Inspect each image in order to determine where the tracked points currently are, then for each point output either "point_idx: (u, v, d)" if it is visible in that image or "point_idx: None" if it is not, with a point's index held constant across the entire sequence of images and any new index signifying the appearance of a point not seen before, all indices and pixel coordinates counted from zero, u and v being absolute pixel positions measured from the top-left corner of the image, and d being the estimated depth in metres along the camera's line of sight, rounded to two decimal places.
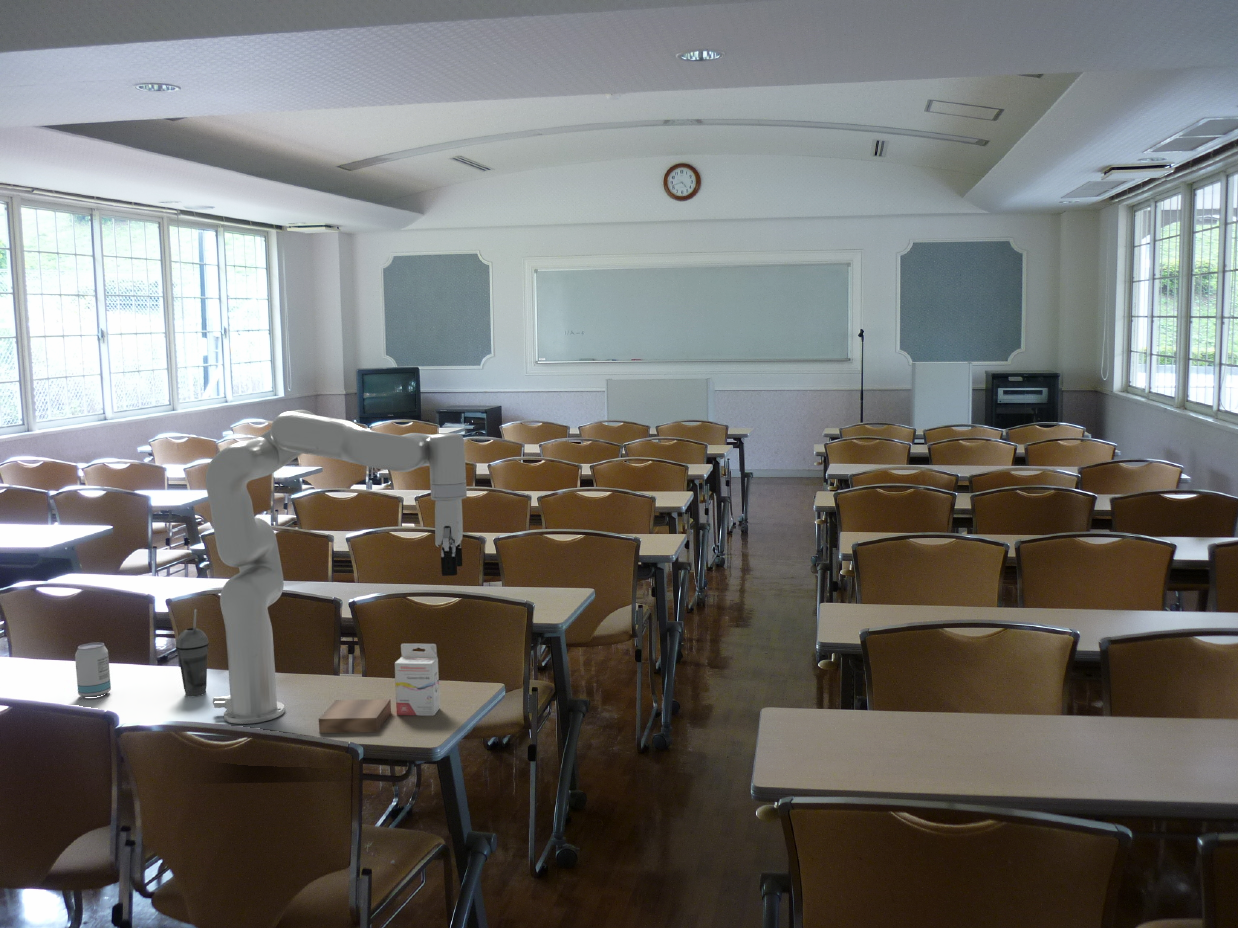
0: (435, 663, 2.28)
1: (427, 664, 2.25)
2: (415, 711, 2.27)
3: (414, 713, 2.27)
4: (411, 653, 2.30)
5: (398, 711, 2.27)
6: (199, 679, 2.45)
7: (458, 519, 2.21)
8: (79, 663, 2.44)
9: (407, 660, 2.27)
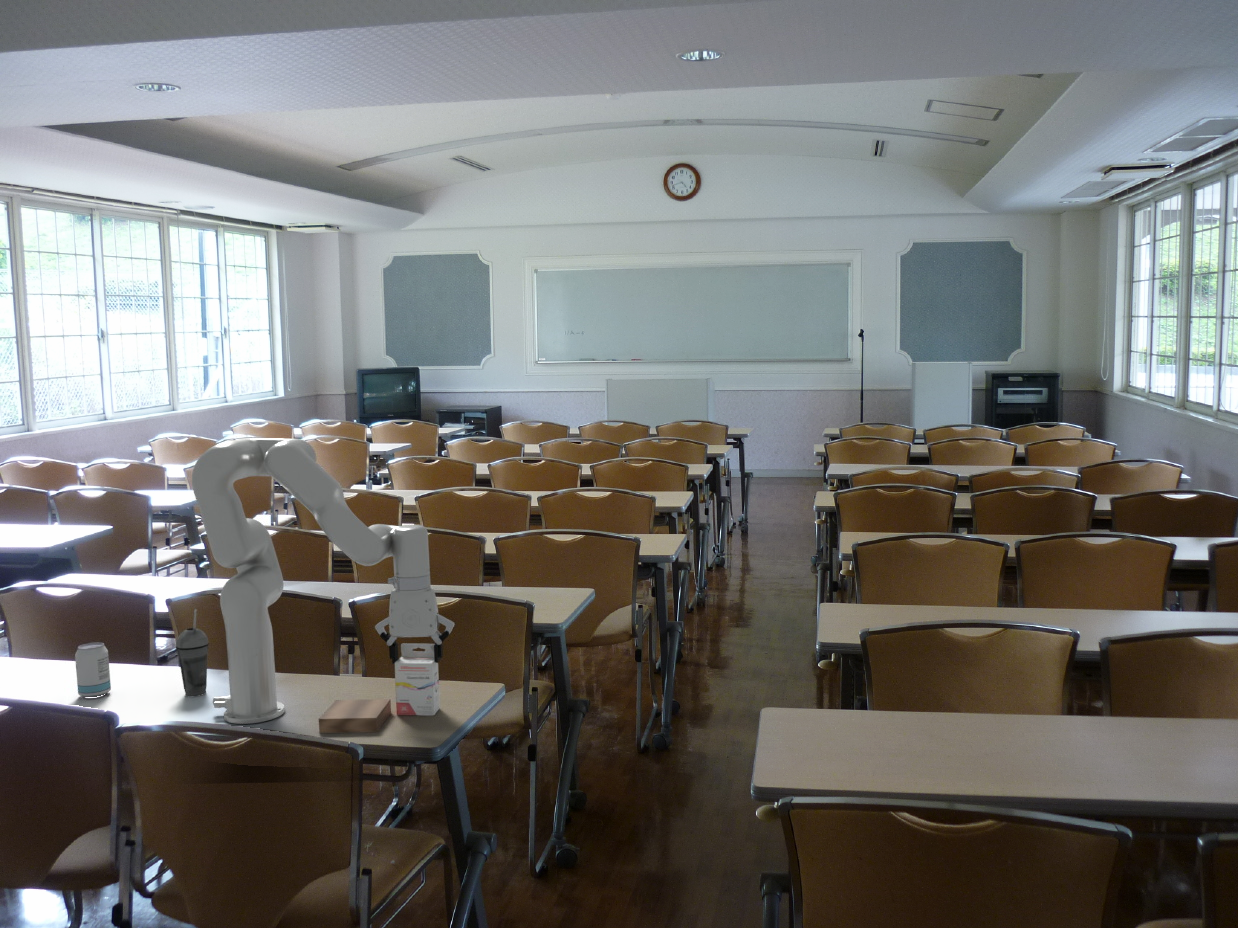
0: (435, 663, 2.28)
1: (427, 663, 2.25)
2: (415, 711, 2.27)
3: (414, 712, 2.27)
4: (411, 652, 2.30)
5: (398, 711, 2.27)
6: (199, 679, 2.45)
7: None
8: (79, 663, 2.44)
9: (407, 660, 2.27)
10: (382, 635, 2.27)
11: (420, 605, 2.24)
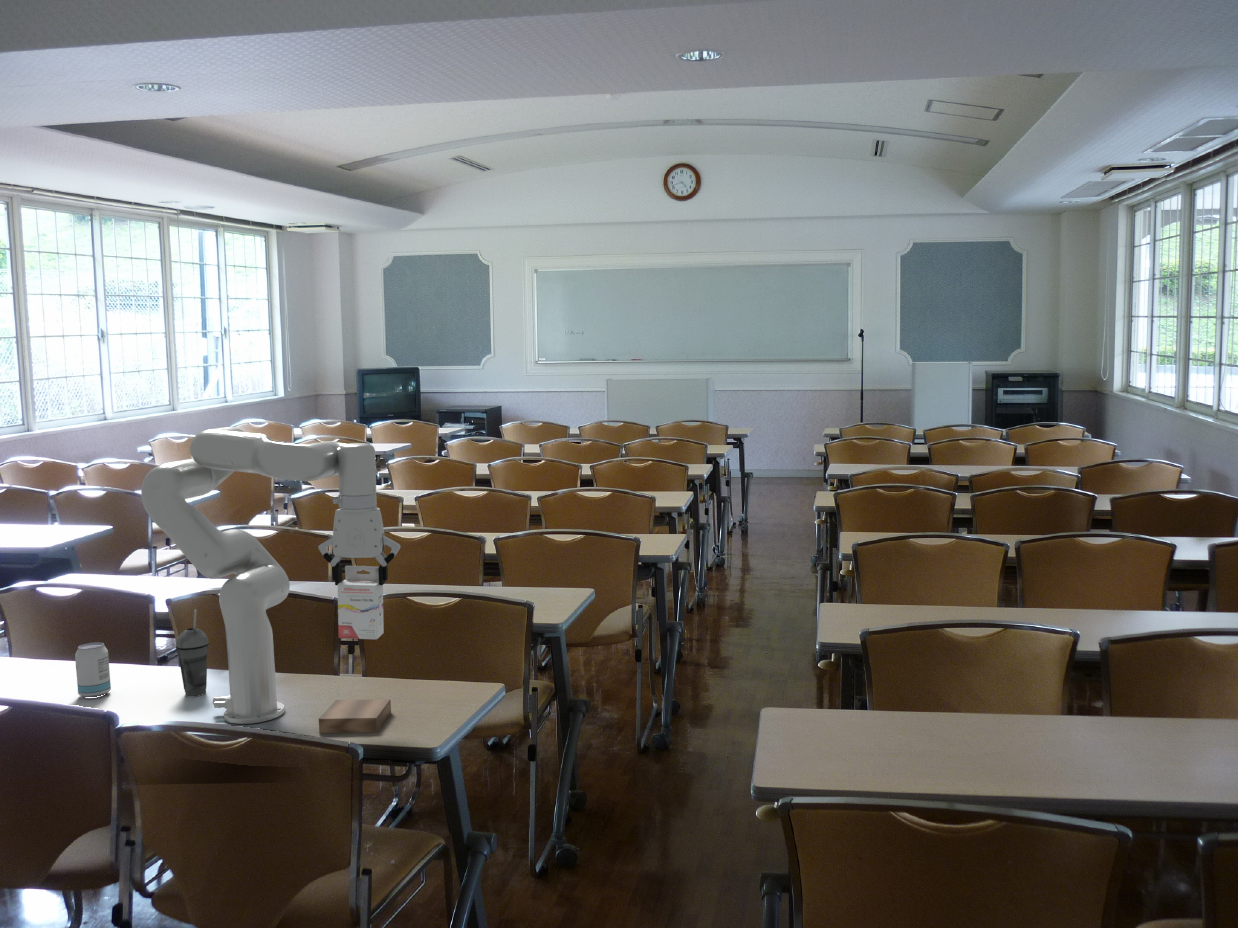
0: (380, 586, 2.22)
1: (371, 585, 2.19)
2: (358, 634, 2.21)
3: (357, 636, 2.21)
4: (356, 575, 2.24)
5: (340, 634, 2.21)
6: (199, 679, 2.45)
7: None
8: (79, 663, 2.44)
9: (351, 582, 2.21)
10: (325, 556, 2.21)
11: (365, 525, 2.18)
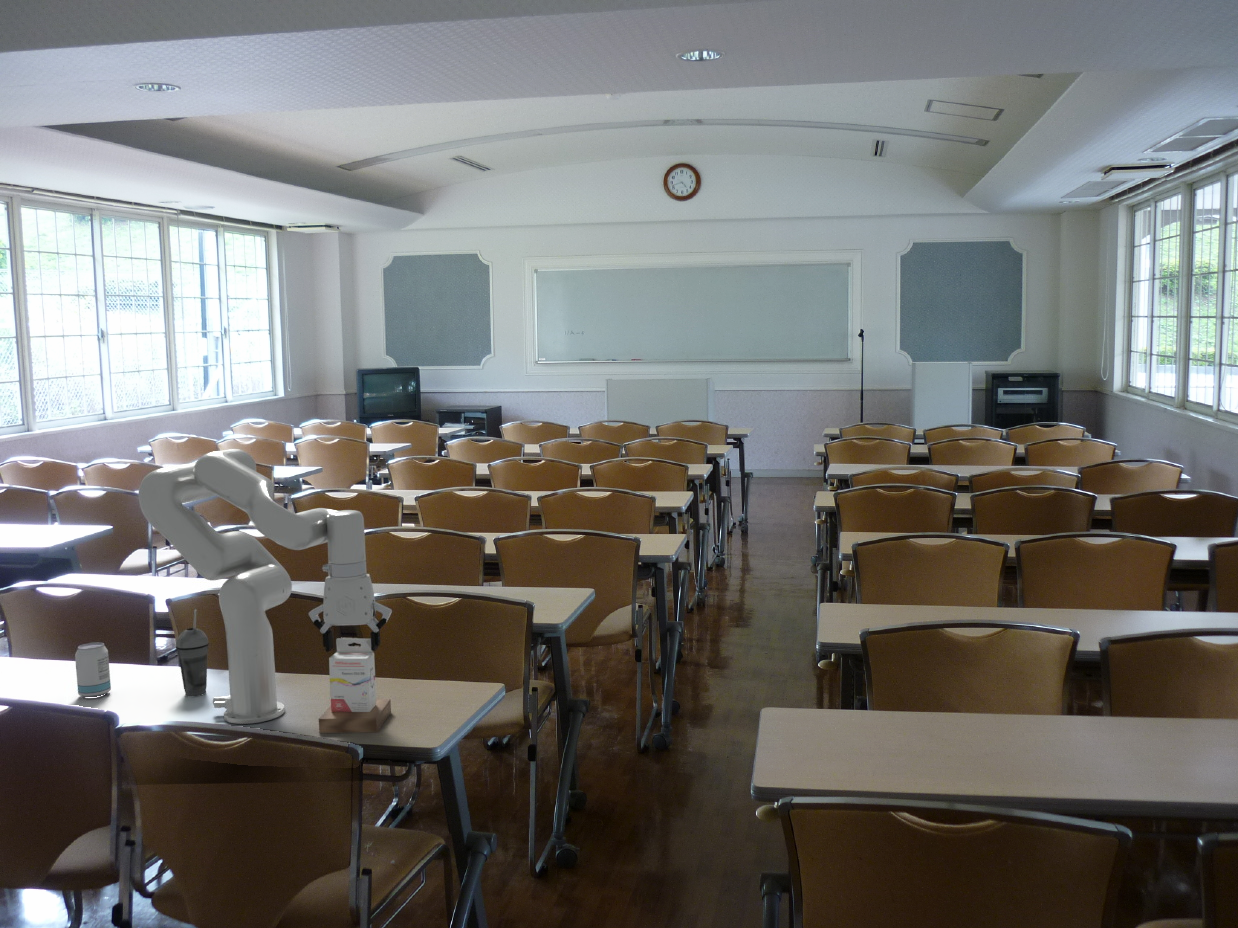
0: (371, 658, 2.22)
1: (362, 659, 2.20)
2: (350, 707, 2.21)
3: (349, 709, 2.21)
4: (347, 648, 2.24)
5: (333, 708, 2.21)
6: (199, 679, 2.45)
7: None
8: (79, 663, 2.44)
9: (342, 656, 2.21)
10: (315, 622, 2.21)
11: (355, 592, 2.18)
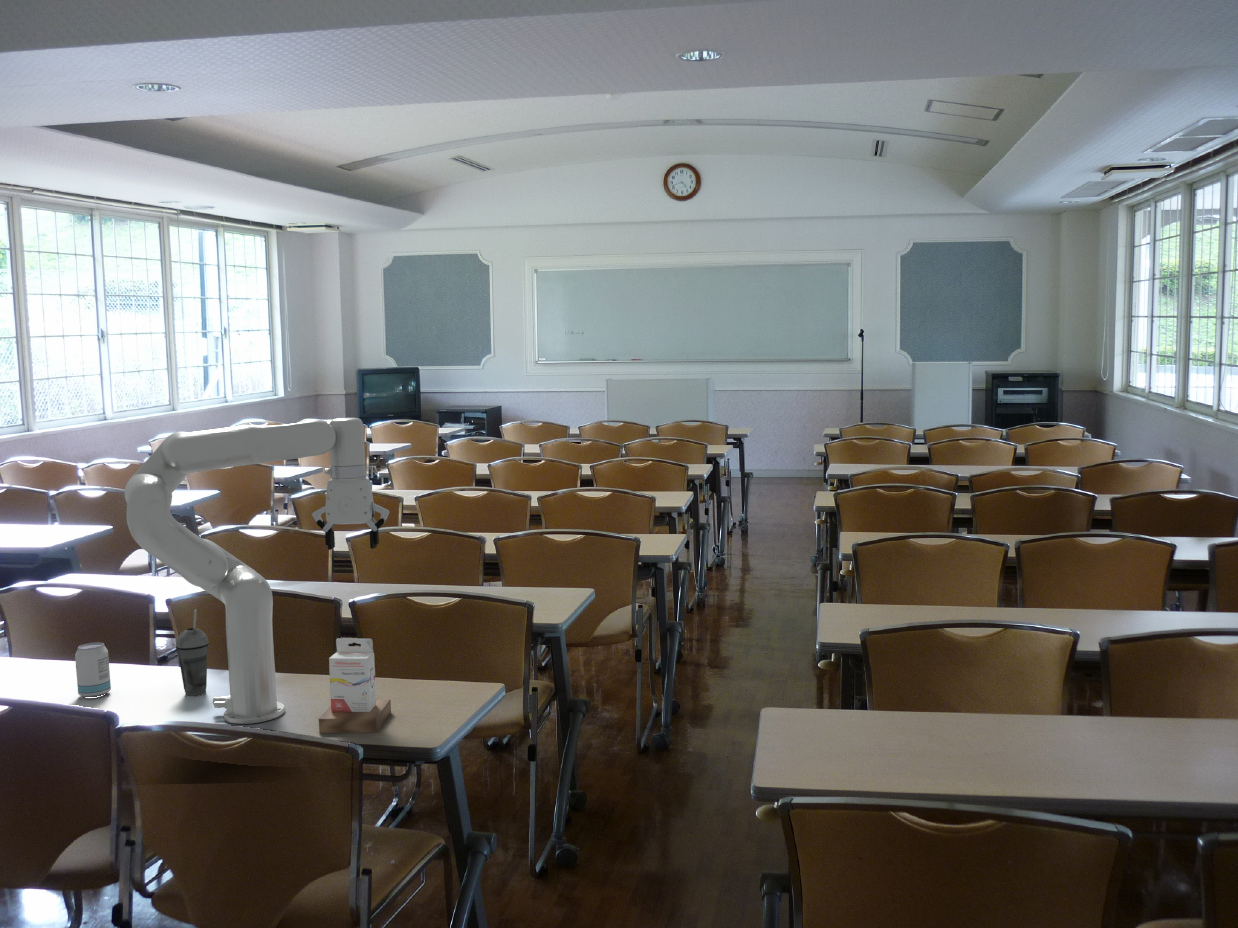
0: (371, 658, 2.22)
1: (362, 659, 2.20)
2: (350, 707, 2.21)
3: (349, 709, 2.21)
4: (347, 648, 2.24)
5: (333, 708, 2.21)
6: (199, 679, 2.45)
7: None
8: (79, 663, 2.44)
9: (342, 656, 2.21)
10: (318, 522, 2.37)
11: (355, 493, 2.34)
